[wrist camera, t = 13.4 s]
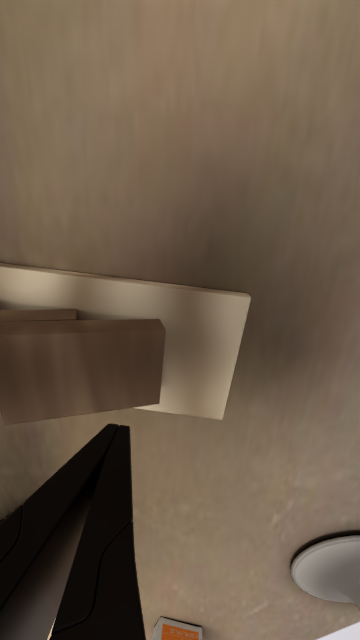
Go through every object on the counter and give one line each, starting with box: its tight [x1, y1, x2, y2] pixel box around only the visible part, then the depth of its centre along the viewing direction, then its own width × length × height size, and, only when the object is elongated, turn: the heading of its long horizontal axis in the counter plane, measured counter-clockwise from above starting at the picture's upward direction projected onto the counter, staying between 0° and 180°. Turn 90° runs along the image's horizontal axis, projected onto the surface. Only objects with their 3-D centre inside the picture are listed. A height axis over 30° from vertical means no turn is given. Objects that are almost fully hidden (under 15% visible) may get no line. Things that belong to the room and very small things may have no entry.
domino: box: [0, 319, 166, 425], centre depth 12 cm, size 2×5×8 cm
